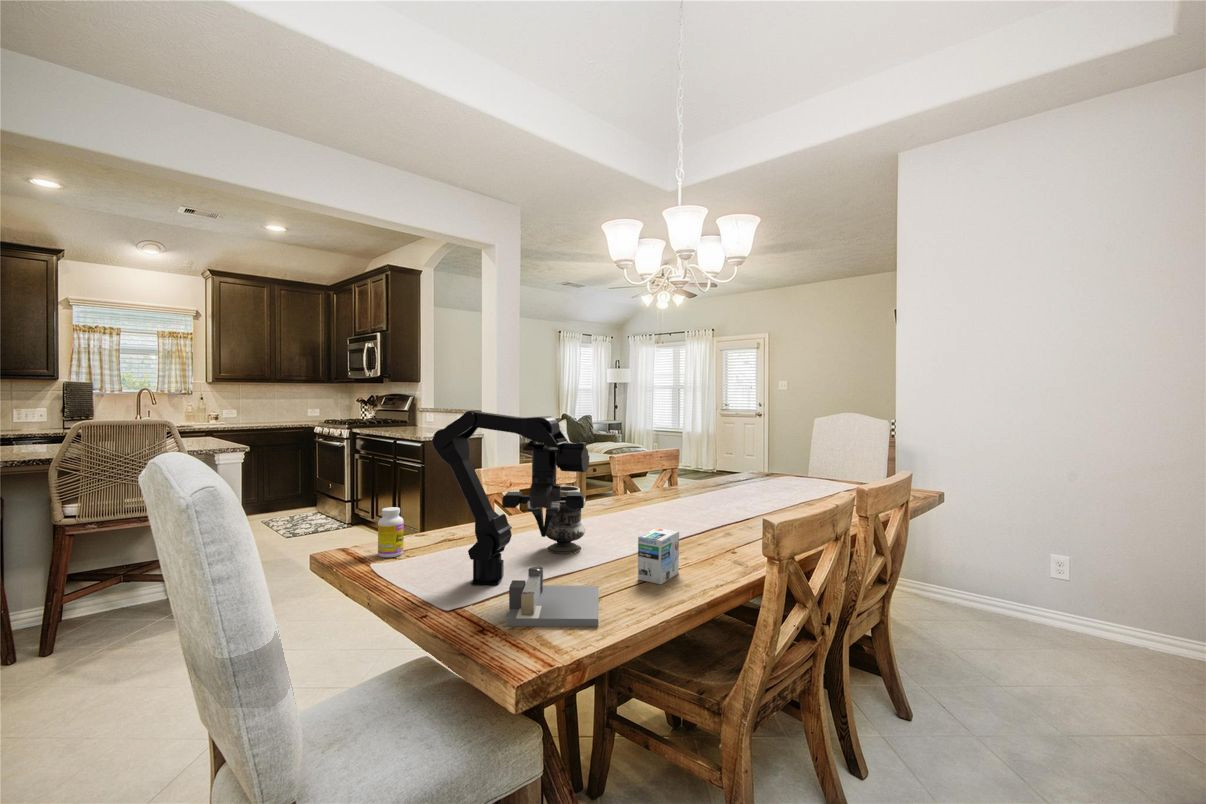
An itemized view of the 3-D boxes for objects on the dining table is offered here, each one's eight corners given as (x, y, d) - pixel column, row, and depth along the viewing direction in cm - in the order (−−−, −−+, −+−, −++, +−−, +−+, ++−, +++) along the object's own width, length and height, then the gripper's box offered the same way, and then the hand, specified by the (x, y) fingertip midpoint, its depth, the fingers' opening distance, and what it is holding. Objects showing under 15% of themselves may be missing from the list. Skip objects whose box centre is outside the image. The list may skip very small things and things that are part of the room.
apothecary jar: (584, 556, 152) (585, 491, 151) (541, 555, 151) (542, 491, 151) (585, 543, 164) (585, 484, 163) (545, 543, 163) (545, 484, 163)
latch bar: (529, 587, 122) (529, 566, 122) (543, 587, 122) (543, 566, 122) (519, 614, 107) (519, 590, 107) (535, 614, 107) (535, 590, 107)
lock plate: (505, 625, 106) (505, 595, 106) (518, 591, 124) (519, 565, 124) (598, 626, 107) (598, 596, 106) (598, 592, 125) (598, 566, 124)
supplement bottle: (398, 558, 148) (397, 511, 147) (373, 558, 148) (373, 511, 148) (407, 551, 154) (407, 506, 154) (384, 550, 155) (384, 506, 154)
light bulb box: (661, 585, 129) (661, 540, 129) (636, 580, 133) (636, 536, 133) (679, 572, 138) (680, 530, 138) (655, 568, 142) (656, 527, 142)
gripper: (497, 475, 119) (497, 546, 119) (582, 476, 119) (582, 546, 119) (506, 467, 130) (506, 532, 130) (584, 468, 130) (583, 533, 130)
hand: (543, 536), depth 127 cm, fingers closed
